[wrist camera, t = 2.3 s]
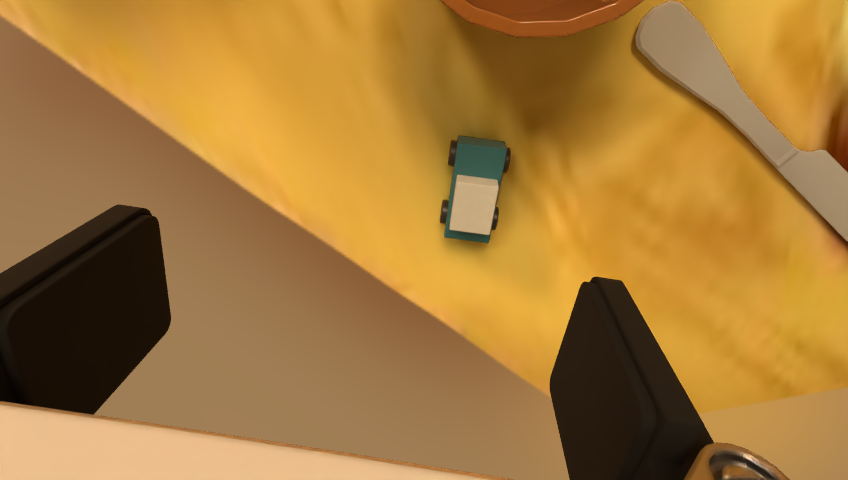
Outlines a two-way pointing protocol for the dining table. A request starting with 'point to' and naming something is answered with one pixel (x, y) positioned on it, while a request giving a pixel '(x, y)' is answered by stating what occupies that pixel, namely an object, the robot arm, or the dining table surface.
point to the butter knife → (739, 106)
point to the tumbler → (540, 15)
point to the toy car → (474, 188)
